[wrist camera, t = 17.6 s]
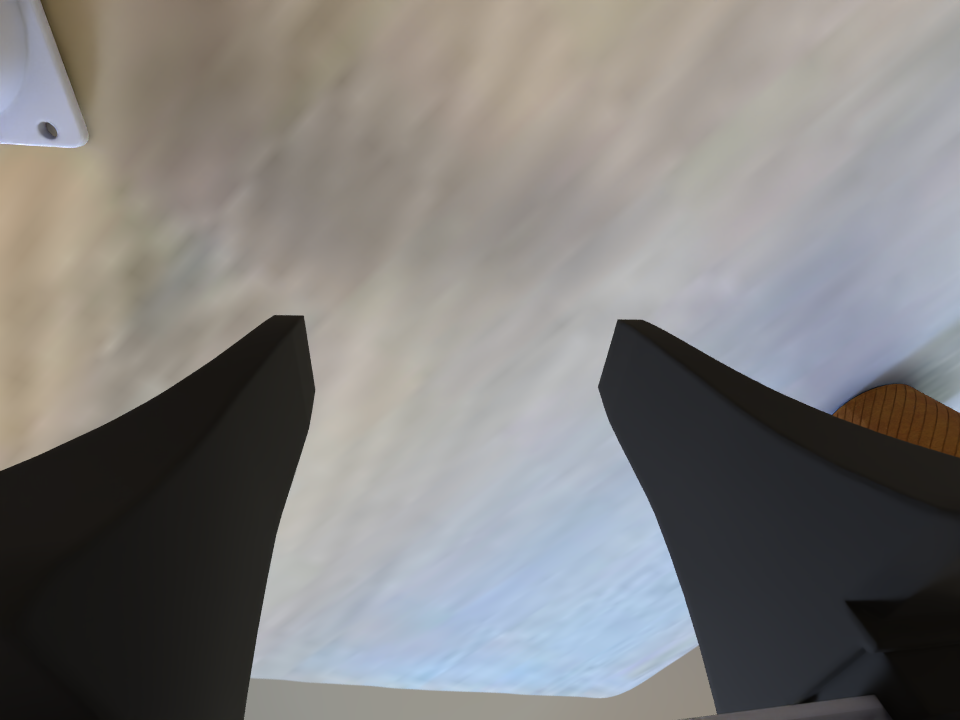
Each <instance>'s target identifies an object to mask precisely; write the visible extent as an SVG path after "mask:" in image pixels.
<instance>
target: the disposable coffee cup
mask: <svg viewBox="0 0 960 720" xmlns="http://www.w3.org/2000/svg"><path fill="white" fill-rule="evenodd" d="M833 416H835V417H838V418H840V419H843V420H846V421H848V422H851V423H854V424H857V425H859V426H862V427H865V428H868V429H870V430H873V431H876V432H879V433H881V434H884V435H887V436H891V437H894V438H897V439H900V440H903V441H906V442H909V443H912V444H915V445H919V446H922V447H925V448H929V449H932V450H935V451H939V452H942V453H945V454H949V455H952V456H955V457H959V458H960V413H959V412H957V411H955V410H953V409H951V408H949V407H948V406H946V405H944V404H942V403H940V402H938V401H936V400H934V399H932V398H931V397H929V396H927V395H925V394H923V393H921V392H919V391H918V390H916V389H914V388H913V387H911V386H908V385H904V384H890V385H884V386H881V387H877V388H874V389H871V390H869V391H867V392H864V393H862V394H860V395H859V396H857V397H855V398H853V399H852V400H850V401H849V402H847V403H846V404H845V405H843V406H842V407H841V408H839V409H838V410H837V411H836V412H835V413H834V414H833Z"/></svg>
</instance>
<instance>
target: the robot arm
mask: <svg viewBox="0 0 960 720" xmlns="http://www.w3.org/2000/svg"><path fill="white" fill-rule="evenodd" d="M46 122H48V123H50V124H51V125H53V126H54V127H55V129H56V130H57V135H58V136H57V137H56V136H53V135H52V134H51V133H49V131H48V130H47V128H46ZM88 139H89V134H88V130H87V127H86V124H85V121H84V119H83V116H82V113H81V111H80V108H79V105H78V102H77V100H76V97H75V94H74V91H73V89H72V86H71V83H70V80H69V78H68V75H67V72H66V70H65V67H64V64H63V61H62V59H61V56H60V53H59V50H58V48H57V45H56V42H55V39H54V37H53V34H52V31H51V29H50V26H49V23H48V20H47V18H46V15H45V12H44V9H43V7H42V4H41V1H40V0H0V144H16V145H32V146H49V147H66V148H75V147H80V146H83V145H84V144H86V143H87V142H88ZM598 388H599V392H600V395H601V398H602V402H603V405H604V408H605V411H606V414H607V417H608V419H609V422H610V424H611V426H612V428H613V430H614V432H615V434H616V436H617V439H618V441H619V443H620V445H621V447H622V449H623V451H624V453H625V455H626V457H627V458H628V460H629V462H630V464H631V466H632V468H633V470H634V472H635V474H636V476H637V478H638V480H639V482H640V484H641V486H642V488H643V490H644V492H645V494H646V496H647V498H648V500H649V502H650V505H651V507H652V509H653V511H654V513H655V516H656V518H657V521H658V524H659V526H660V529H661V532H662V534H663V537H664V540H665V542H666V545H667V548H668V550H669V553H670V556H671V559H672V562H673V565H674V568H675V570H676V573H677V576H678V579H679V582H680V585H681V588H682V591H683V594H684V597H685V600H686V604H687V607H688V610H689V613H690V617H691V620H692V623H693V627H694V630H695V633H696V637H697V640H698V643H699V646H700V650H701V654H702V658H703V661H704V665H705V668H706V673H707V676H708V680H709V684H710V688H711V692H712V695H713V699H714V703H715V707H716V711H717V715H711V716H703V717H695V718H687V719H679V720H960V458H959V457H955V456H952V455H949V454H945V453H942V452H939V451H935V450H932V449H929V448H925V447H922V446H919V445H915V444H912V443H909V442H906V441H903V440H900V439H897V438H894V437H891V436H887V435H884V434H881V433H879V432H876V431H873V430H870V429H868V428H865V427H862V426H859V425H857V424H854V423H851V422H848V421H846V420H843V419H840V418H838V417H835V416H833V415H830V414H828V413H825V412H822V411H820V410H818V409H815V408H813V407H811V406H808V405H806V404H804V403H802V402H799V401H797V400H795V399H792V398H790V397H788V396H786V395H783V394H781V393H779V392H777V391H775V390H773V389H771V388H769V387H766V386H764V385H763V384H761V383H759V382H757V381H755V380H753V379H751V378H749V377H747V376H745V375H743V374H741V373H739V372H737V371H735V370H734V369H732V368H730V367H728V366H726V365H724V364H723V363H721V362H719V361H717V360H715V359H714V358H712V357H710V356H708V355H707V354H705V353H703V352H701V351H700V350H698V349H696V348H694V347H693V346H691V345H689V344H687V343H686V342H684V341H682V340H680V339H679V338H677V337H675V336H673V335H672V334H670V333H668V332H666V331H664V330H662V329H661V328H659V327H657V326H655V325H653V324H651V323H648V322H646V321H644V320H618V321H617V324H616V327H615V331H614V334H613V338H612V341H611V344H610V348H609V351H608V355H607V358H606V362H605V365H604V368H603V372H602V375H601V379H600V382H599V385H598ZM314 395H315V385H314V379H313V372H312V366H311V359H310V353H309V346H308V340H307V334H306V327H305V321H304V316H293V315H274V316H272V317H271V318H269V319H268V320H266V321H265V322H263V323H262V324H261V325H259V326H258V327H256V328H255V329H254V330H252V331H251V332H250V333H248V334H247V335H246V336H244V337H243V338H242V339H240V340H239V341H238V342H236V343H235V344H234V345H232V346H231V347H230V348H228V349H227V350H225V351H224V352H223V353H221V354H220V355H219V356H217V357H216V358H215V359H213V360H212V361H210V362H209V363H207V364H206V365H204V366H203V367H201V368H200V369H198V370H197V371H195V372H194V373H192V374H191V375H189V376H188V377H186V378H185V379H183V380H182V381H180V382H179V383H177V384H175V385H174V386H172V387H171V388H169V389H168V390H166V391H164V392H163V393H161V394H160V395H158V396H156V397H154V398H153V399H151V400H149V401H148V402H146V403H144V404H142V405H140V406H139V407H137V408H135V409H133V410H131V411H129V412H128V413H126V414H124V415H122V416H120V417H118V418H116V419H115V420H113V421H111V422H109V423H107V424H105V425H103V426H101V427H99V428H96V429H94V430H92V431H90V432H88V433H86V434H84V435H81V436H79V437H77V438H75V439H73V440H71V441H68V442H66V443H64V444H62V445H60V446H58V447H56V448H53V449H51V450H49V451H47V452H45V453H43V454H41V455H38V456H36V457H34V458H31V459H29V460H26V461H24V462H22V463H19V464H17V465H14V466H12V467H9V468H7V469H5V470H2V471H0V720H244V714H245V707H246V700H247V693H248V687H249V681H250V675H251V669H252V663H253V657H254V651H255V644H256V638H257V632H258V627H259V621H260V616H261V610H262V605H263V599H264V594H265V589H266V583H267V578H268V573H269V568H270V563H271V558H272V553H273V548H274V543H275V538H276V534H277V530H278V527H279V523H280V519H281V515H282V512H283V509H284V506H285V503H286V500H287V497H288V493H289V490H290V487H291V484H292V481H293V478H294V475H295V471H296V468H297V465H298V462H299V459H300V456H301V452H302V449H303V446H304V443H305V440H306V436H307V433H308V430H309V425H310V420H311V414H312V408H313V401H314Z"/></svg>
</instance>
